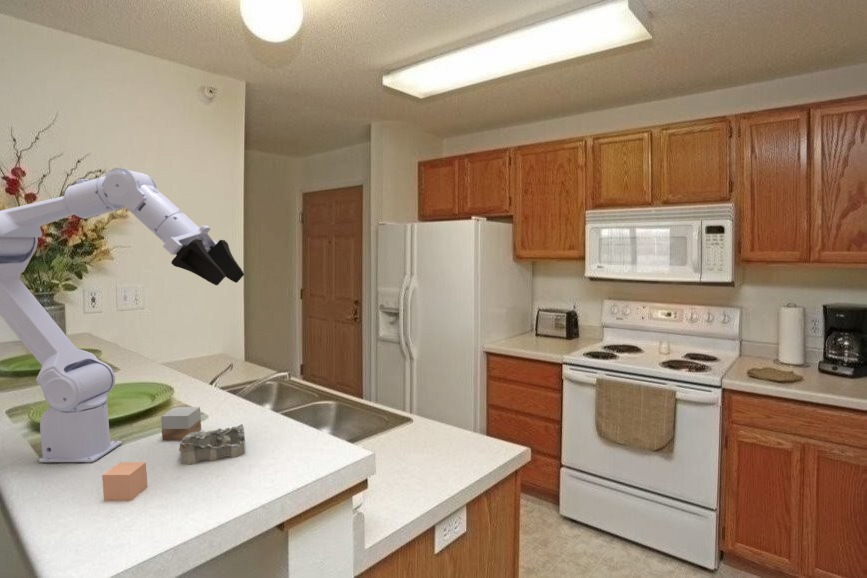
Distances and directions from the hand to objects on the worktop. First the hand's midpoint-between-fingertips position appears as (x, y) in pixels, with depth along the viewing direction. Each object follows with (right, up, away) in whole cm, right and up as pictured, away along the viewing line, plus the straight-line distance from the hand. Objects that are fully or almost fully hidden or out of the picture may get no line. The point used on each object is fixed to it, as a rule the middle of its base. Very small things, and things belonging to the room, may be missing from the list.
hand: (231, 279), depth 83 cm
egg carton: (-5, -31, +4) cm, 32 cm away
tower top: (-14, -28, +12) cm, 34 cm away
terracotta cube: (-12, -32, -10) cm, 36 cm away
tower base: (-14, -30, +12) cm, 36 cm away
